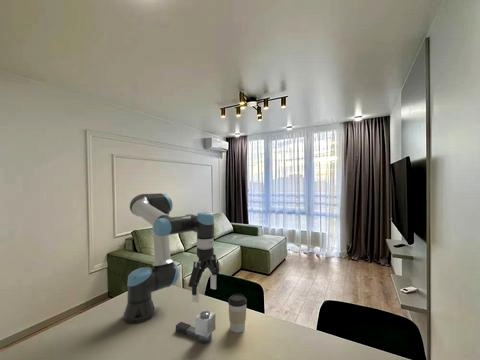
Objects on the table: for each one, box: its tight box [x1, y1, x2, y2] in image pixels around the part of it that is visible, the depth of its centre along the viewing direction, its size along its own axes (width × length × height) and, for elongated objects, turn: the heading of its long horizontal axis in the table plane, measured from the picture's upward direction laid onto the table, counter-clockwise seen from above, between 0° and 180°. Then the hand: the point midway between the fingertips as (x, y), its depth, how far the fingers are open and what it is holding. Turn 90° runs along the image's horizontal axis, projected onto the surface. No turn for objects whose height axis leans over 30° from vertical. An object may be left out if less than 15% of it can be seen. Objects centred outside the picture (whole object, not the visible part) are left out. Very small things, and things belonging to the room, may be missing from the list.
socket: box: [194, 309, 216, 337], centre depth 101 cm, size 6×6×8 cm
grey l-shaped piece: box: [175, 321, 213, 345], centre depth 103 cm, size 18×6×8 cm, turn 64°
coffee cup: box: [227, 292, 248, 334], centre depth 109 cm, size 9×9×15 cm
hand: (204, 294), depth 101 cm, fingers open, 13 cm apart
